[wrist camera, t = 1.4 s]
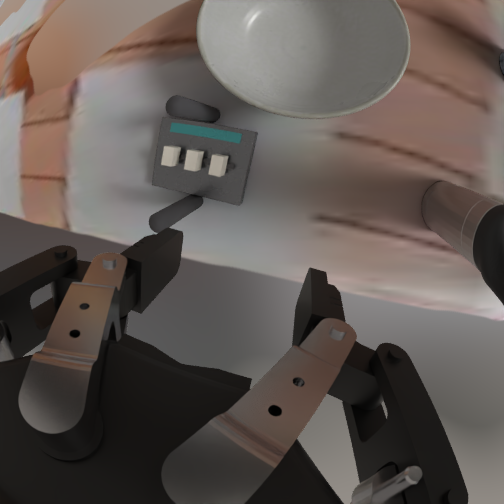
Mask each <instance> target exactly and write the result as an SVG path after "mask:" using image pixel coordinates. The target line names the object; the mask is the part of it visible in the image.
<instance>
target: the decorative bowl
mask: <svg viewBox="0 0 504 504" xmlns="http://www.w3.org/2000/svg"><path fill="white" fill-rule="evenodd" d="M196 37H197V44H198V48H199V51H200V54H201V57H202V59H203V61H204V63H205V65H206V66H207V68H208V69H209V71H210V72H211V74H212V75H213V76H214V77H215V79H216V80H217V81H218V82H219V83H220V84H221V85H222V86H223V87H224V88H226V89H227V90H228V91H229V92H231V93H232V94H233V95H235V96H236V97H238V98H239V99H241V100H243V101H245V102H246V103H248V104H250V105H252V106H255V107H257V108H259V109H262V110H265V111H267V112H271V113H274V114H278V115H282V116H287V117H293V118H301V119H325V118H334V117H340V116H345V115H348V114H352V113H355V112H358V111H360V110H363V109H365V108H367V107H369V106H371V105H373V104H375V103H376V102H378V101H379V100H381V99H382V98H384V97H385V96H386V95H387V94H388V93H389V92H390V91H391V90H392V89H393V88H394V87H395V86H396V85H397V83H398V82H399V80H400V79H401V77H402V76H403V74H404V72H405V69H406V67H407V64H408V60H409V55H410V35H409V30H408V26H407V23H406V20H405V17H404V15H403V13H402V11H401V9H400V7H399V5H398V4H397V2H396V1H395V0H204V1H203V3H202V5H201V8H200V11H199V14H198V18H197V25H196Z"/></svg>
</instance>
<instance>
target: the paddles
mask: <svg viewBox="0 0 504 504" xmlns="http://www.w3.org/2000/svg"><path fill="white" fill-rule="evenodd" d="M180 150H181V147H177V146H164V150H163V156H162V162H161V165H165V166H170V167H172V166H176V165H178V162H179V156H180ZM203 154H204V151H200V150H194V149H192V150H187V154H186V160H185V166H184V169H185V170H190V171H198V170H201V165H202V159H203ZM227 161H228V156H225V155H220V154H213V155H212V158H211V163H210V168H209V175H214V176H218V177H221V176H223V175H225V170H226V166H227Z"/></svg>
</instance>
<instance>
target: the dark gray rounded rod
mask: <svg viewBox="0 0 504 504" xmlns="http://www.w3.org/2000/svg"><path fill="white" fill-rule="evenodd" d="M166 111H167V113H168V114H169V115H171V116H175V117H182V118H188V119H194V120H200V121H205V122H210V123H214V122H216V121H218V119H219V118H220V112H219V110H218V109H216V108H214V107H211V106H208V105H205V104H202V103H200V102H197V101H194V100H191V99H188V98H185V97H181V96H173V97H171V98H170V99H169V100H168V101H167V103H166Z"/></svg>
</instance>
